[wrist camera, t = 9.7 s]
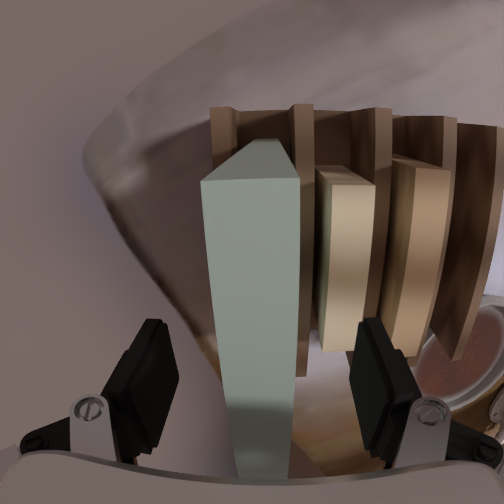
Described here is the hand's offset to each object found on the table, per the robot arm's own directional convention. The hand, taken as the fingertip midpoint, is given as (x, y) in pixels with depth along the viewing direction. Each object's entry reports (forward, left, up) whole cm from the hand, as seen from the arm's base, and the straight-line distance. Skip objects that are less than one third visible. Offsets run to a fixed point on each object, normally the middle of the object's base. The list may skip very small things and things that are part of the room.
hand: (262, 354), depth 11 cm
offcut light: (0, -4, -14) cm, 15 cm away
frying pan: (-12, -26, -16) cm, 33 cm away
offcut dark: (0, -9, -14) cm, 16 cm away
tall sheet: (0, 0, -14) cm, 14 cm away
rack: (0, -7, -15) cm, 16 cm away
